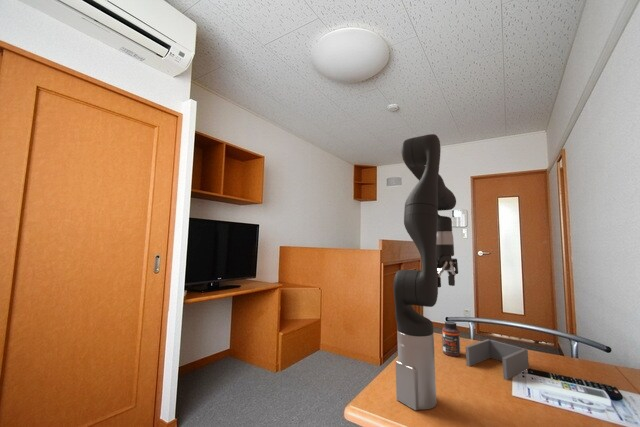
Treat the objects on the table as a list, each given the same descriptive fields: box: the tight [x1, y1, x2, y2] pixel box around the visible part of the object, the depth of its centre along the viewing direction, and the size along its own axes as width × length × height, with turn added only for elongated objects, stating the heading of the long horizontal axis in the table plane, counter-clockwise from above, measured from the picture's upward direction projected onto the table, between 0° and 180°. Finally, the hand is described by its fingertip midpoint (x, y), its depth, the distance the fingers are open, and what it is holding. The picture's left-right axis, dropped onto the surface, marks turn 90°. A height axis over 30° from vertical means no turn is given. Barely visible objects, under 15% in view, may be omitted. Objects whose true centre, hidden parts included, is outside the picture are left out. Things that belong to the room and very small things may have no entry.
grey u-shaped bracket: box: [465, 338, 530, 381], centre depth 95 cm, size 15×12×6 cm
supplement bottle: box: [441, 320, 461, 357], centre depth 106 cm, size 6×6×11 cm
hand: (445, 286), depth 109 cm, fingers open, 8 cm apart
